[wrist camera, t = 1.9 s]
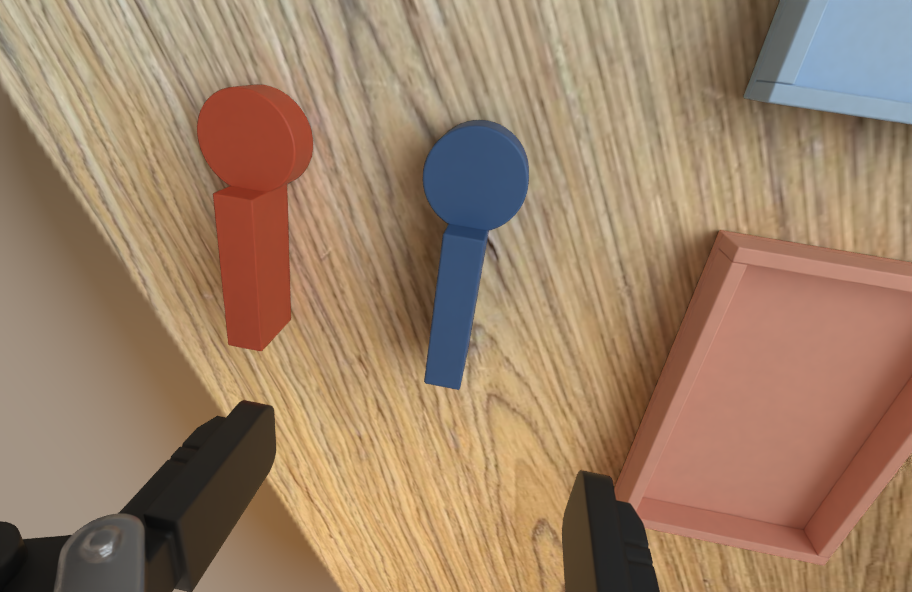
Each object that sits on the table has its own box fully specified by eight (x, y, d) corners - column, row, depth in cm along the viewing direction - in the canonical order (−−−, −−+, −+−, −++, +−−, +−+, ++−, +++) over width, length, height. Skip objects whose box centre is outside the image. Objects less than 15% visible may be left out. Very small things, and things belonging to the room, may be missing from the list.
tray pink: (803, 530, 26) (824, 566, 24) (612, 491, 26) (618, 523, 24) (986, 274, 19) (1034, 297, 17) (719, 229, 19) (738, 246, 17)
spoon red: (314, 323, 24) (287, 357, 21) (238, 309, 24) (202, 340, 22) (313, 92, 19) (278, 98, 16) (218, 77, 19) (168, 80, 17)
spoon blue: (491, 357, 23) (486, 396, 21) (411, 342, 24) (396, 378, 21) (538, 128, 19) (539, 140, 16) (436, 112, 19) (421, 121, 16)
